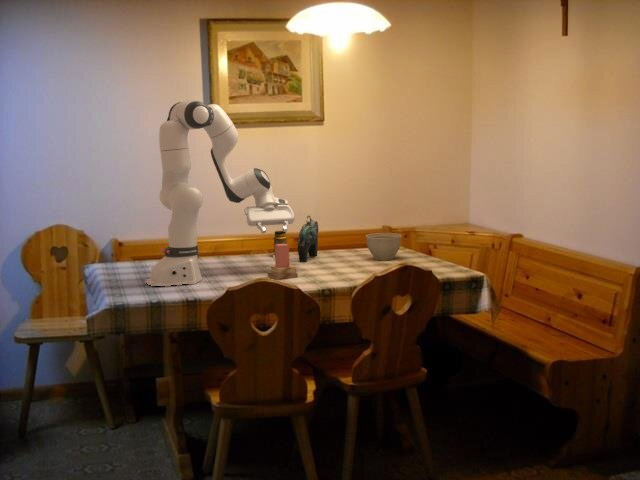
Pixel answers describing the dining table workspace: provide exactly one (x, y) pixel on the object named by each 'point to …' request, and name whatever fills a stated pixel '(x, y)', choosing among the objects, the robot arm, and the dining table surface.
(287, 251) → the brick-red pillar
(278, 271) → the oak top slab
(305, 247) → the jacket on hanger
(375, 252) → the planter bowl
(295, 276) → the walnut base slab
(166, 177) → the robot arm
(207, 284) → the dining table surface
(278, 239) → the condiment
